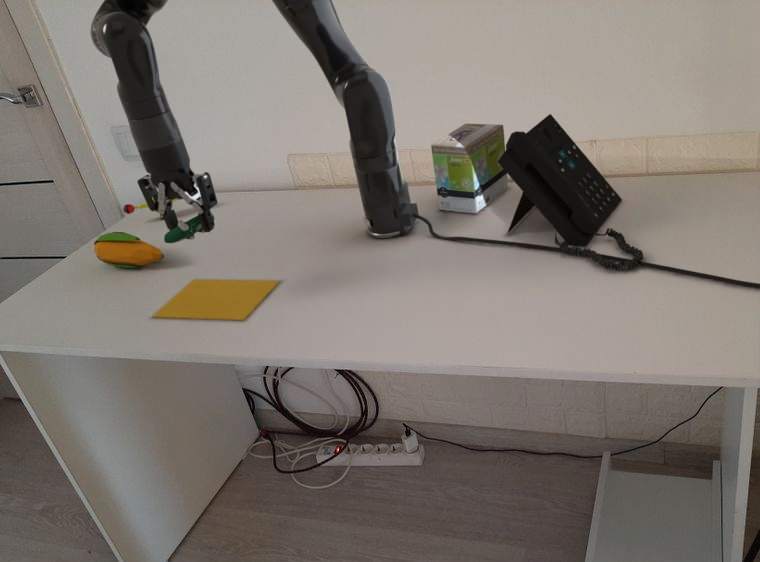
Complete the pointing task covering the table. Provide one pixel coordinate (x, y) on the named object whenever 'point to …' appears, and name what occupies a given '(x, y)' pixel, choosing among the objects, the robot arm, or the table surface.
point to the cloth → (217, 299)
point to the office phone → (563, 189)
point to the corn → (125, 250)
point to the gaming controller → (184, 230)
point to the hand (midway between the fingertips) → (192, 230)
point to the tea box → (469, 167)
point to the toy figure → (130, 208)
